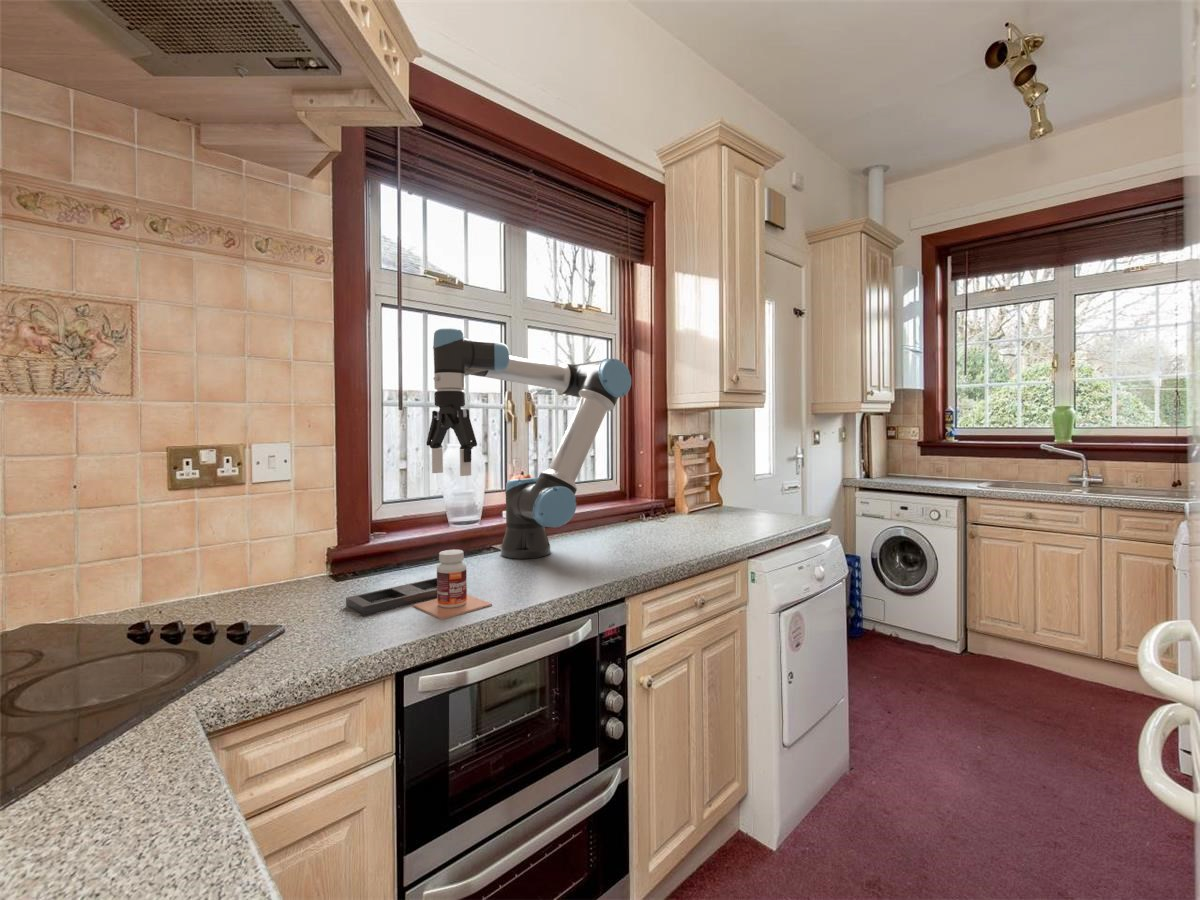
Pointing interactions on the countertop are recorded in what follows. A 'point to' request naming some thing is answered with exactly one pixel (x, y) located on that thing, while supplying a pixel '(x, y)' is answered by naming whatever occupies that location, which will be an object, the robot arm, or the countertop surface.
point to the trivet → (443, 613)
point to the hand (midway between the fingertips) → (451, 474)
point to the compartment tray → (401, 596)
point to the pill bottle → (451, 579)
